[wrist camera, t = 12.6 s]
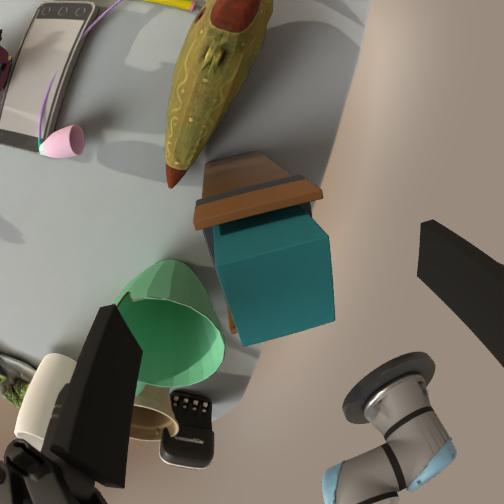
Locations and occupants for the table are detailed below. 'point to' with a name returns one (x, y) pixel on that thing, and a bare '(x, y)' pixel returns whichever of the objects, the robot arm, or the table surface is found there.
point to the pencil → (177, 3)
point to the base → (251, 208)
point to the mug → (172, 326)
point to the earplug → (69, 137)
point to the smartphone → (43, 71)
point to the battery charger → (189, 433)
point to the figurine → (4, 64)
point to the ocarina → (210, 75)
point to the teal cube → (275, 273)
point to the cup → (43, 398)
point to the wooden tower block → (239, 173)
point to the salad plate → (14, 379)
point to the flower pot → (152, 414)
